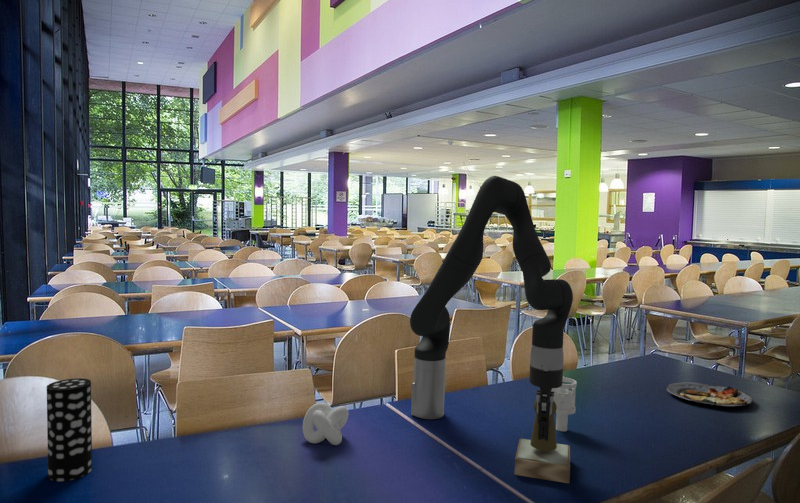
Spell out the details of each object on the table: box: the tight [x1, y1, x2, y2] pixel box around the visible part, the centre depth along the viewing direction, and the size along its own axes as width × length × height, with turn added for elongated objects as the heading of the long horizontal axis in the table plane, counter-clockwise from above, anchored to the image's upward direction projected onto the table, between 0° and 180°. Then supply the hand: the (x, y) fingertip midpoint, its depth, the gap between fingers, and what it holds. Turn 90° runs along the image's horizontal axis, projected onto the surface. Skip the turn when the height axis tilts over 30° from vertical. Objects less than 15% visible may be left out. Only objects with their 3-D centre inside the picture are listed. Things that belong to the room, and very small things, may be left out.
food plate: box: [666, 381, 754, 408], centre depth 179 cm, size 25×23×4 cm
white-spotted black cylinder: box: [46, 377, 93, 482], centre depth 118 cm, size 8×8×20 cm
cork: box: [530, 399, 558, 451], centre depth 125 cm, size 6×6×11 cm
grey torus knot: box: [302, 402, 350, 446], centre depth 138 cm, size 11×12×9 cm
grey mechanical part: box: [551, 374, 578, 432], centre depth 149 cm, size 7×7×15 cm
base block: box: [514, 438, 571, 484], centre depth 125 cm, size 12×12×4 cm
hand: (543, 435), depth 125 cm, fingers closed on cork, 4 cm apart
